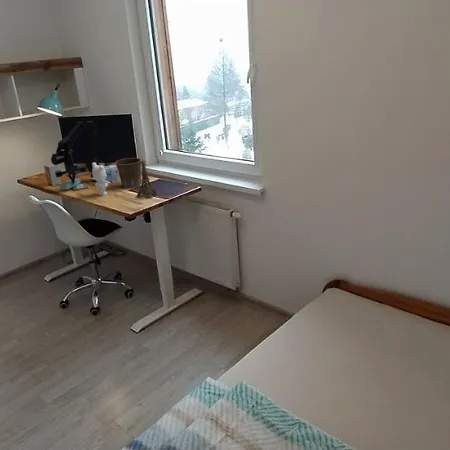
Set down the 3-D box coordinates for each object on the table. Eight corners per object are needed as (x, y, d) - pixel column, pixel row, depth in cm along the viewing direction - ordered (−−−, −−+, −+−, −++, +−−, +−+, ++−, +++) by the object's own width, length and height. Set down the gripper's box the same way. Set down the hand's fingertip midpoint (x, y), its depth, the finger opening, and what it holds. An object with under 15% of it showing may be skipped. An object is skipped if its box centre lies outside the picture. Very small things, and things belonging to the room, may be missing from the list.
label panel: (86, 184, 305) (85, 182, 305) (88, 188, 296) (88, 186, 295) (72, 186, 302) (71, 185, 302) (74, 191, 293) (73, 189, 292)
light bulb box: (105, 185, 301) (103, 169, 297) (101, 183, 306) (98, 167, 302) (120, 181, 307) (118, 165, 303) (116, 179, 312) (113, 164, 308)
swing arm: (82, 181, 307) (81, 177, 306) (67, 189, 292) (66, 184, 291) (76, 181, 308) (75, 177, 307) (60, 189, 293) (59, 184, 292)
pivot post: (80, 183, 308) (79, 181, 308) (80, 184, 306) (80, 182, 305) (75, 184, 307) (75, 182, 307) (76, 185, 305) (75, 183, 304)
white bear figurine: (99, 190, 291) (94, 160, 284) (118, 195, 278) (113, 163, 271) (89, 193, 286) (83, 162, 279) (107, 198, 273) (102, 166, 266)
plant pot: (138, 189, 287) (135, 164, 281) (114, 189, 290) (110, 164, 285) (147, 181, 302) (144, 157, 296) (124, 182, 305) (121, 158, 299)
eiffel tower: (144, 192, 281) (138, 151, 271) (159, 193, 277) (154, 152, 268) (135, 197, 271) (129, 155, 262) (150, 198, 268) (145, 156, 259)
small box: (47, 184, 313) (43, 165, 308) (56, 181, 317) (52, 163, 312) (52, 186, 307) (48, 167, 302) (61, 183, 311) (57, 165, 306)
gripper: (54, 166, 280) (60, 190, 286) (85, 160, 286) (90, 184, 292) (52, 162, 289) (58, 186, 295) (82, 156, 296) (87, 180, 302)
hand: (73, 184), depth 296 cm, fingers closed
